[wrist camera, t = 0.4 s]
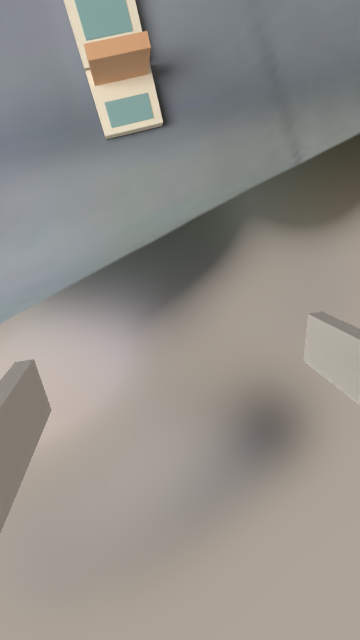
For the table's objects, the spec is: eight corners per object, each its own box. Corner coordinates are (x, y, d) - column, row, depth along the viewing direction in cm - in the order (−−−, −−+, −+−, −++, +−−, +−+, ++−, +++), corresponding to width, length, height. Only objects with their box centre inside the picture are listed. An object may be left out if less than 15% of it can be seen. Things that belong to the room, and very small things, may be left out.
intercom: (87, 77, 28) (77, 42, 23) (147, 63, 29) (151, 26, 24) (106, 139, 31) (101, 120, 25) (161, 126, 31) (168, 105, 26)
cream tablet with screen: (51, -41, 25) (47, -54, 24) (120, -53, 26) (120, -67, 24) (86, 74, 28) (84, 67, 27) (146, 61, 29) (147, 54, 28)
